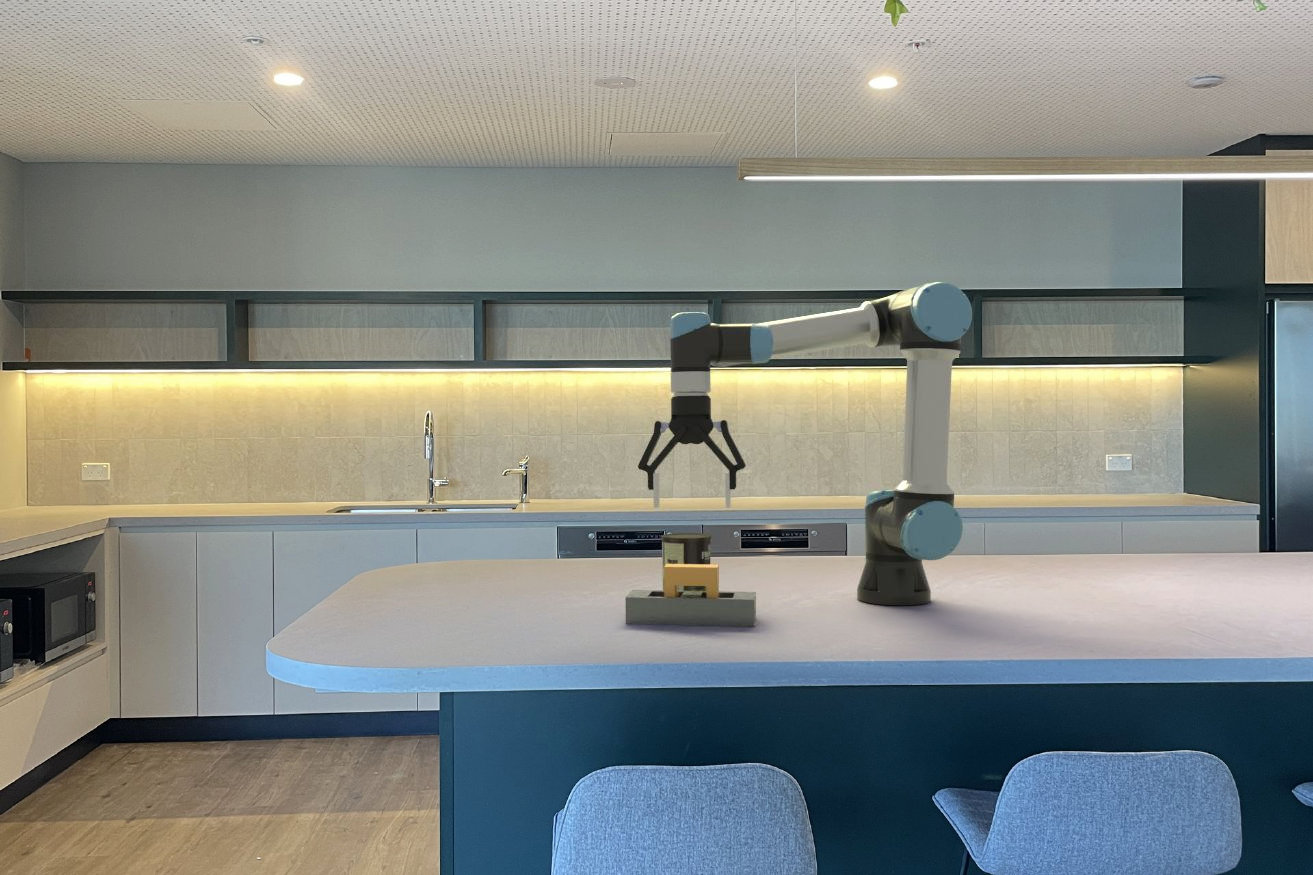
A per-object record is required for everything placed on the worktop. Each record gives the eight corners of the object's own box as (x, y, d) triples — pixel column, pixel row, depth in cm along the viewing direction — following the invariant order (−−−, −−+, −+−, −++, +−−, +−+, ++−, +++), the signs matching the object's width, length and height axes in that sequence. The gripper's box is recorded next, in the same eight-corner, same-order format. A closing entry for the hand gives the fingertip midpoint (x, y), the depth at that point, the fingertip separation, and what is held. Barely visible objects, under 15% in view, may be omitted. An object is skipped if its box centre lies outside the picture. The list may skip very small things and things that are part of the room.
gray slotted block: (755, 617, 206) (755, 591, 206) (754, 626, 197) (754, 599, 197) (632, 615, 209) (632, 589, 209) (625, 623, 200) (625, 597, 200)
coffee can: (714, 599, 227) (714, 532, 226) (707, 607, 217) (706, 538, 216) (666, 597, 229) (666, 532, 229) (657, 606, 219) (656, 537, 218)
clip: (718, 614, 204) (718, 564, 204) (717, 618, 200) (717, 567, 200) (666, 613, 206) (666, 563, 206) (664, 616, 202) (664, 566, 202)
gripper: (757, 394, 204) (759, 505, 205) (628, 396, 207) (630, 505, 208) (756, 393, 197) (757, 508, 197) (622, 395, 200) (624, 509, 201)
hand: (692, 507), depth 203 cm, fingers open, 13 cm apart
